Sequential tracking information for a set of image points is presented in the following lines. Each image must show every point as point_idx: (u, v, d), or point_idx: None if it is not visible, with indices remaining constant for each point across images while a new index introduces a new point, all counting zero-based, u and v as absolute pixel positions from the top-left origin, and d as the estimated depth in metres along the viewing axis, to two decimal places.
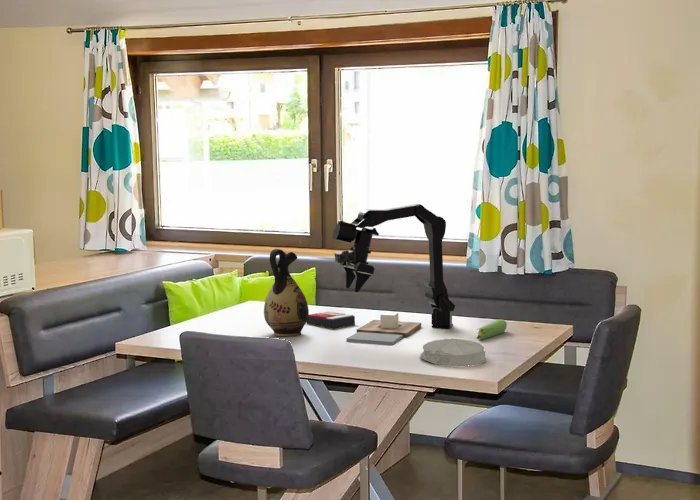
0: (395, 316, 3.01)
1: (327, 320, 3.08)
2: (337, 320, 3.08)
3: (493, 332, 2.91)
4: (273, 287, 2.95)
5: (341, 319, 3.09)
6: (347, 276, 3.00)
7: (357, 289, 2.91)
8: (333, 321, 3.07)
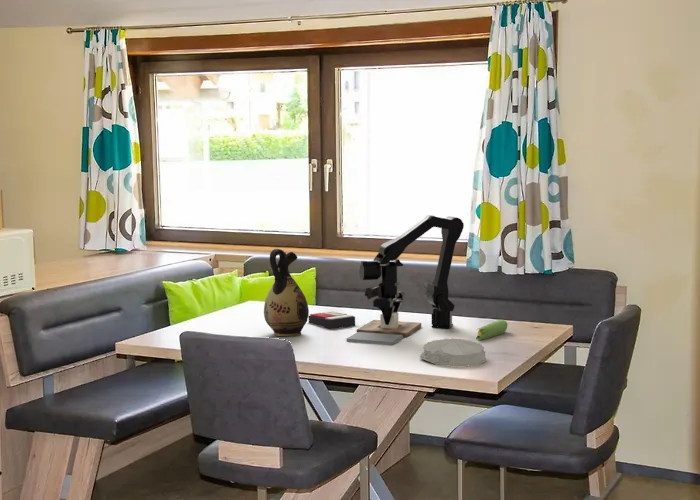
0: (395, 316, 3.01)
1: (326, 320, 3.09)
2: (335, 320, 3.08)
3: (493, 332, 2.91)
4: (273, 287, 2.95)
5: (340, 319, 3.09)
6: None
7: (386, 322, 3.00)
8: (331, 321, 3.07)
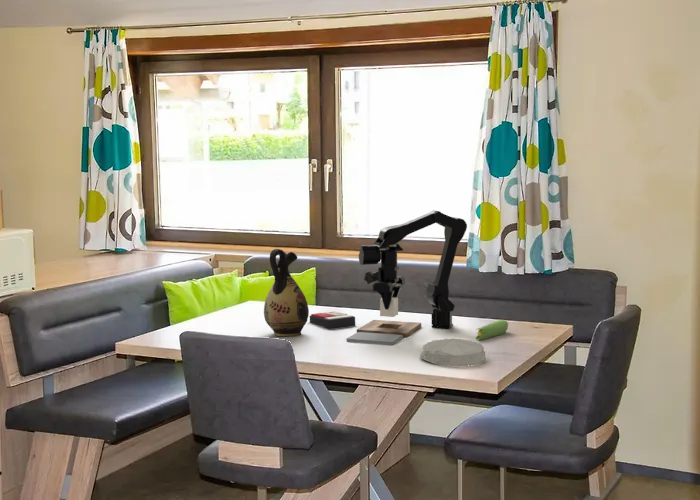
0: (395, 301, 3.01)
1: (325, 320, 3.09)
2: (335, 320, 3.08)
3: (493, 332, 2.91)
4: (273, 287, 2.95)
5: (339, 319, 3.09)
6: None
7: (386, 306, 3.00)
8: (330, 321, 3.07)
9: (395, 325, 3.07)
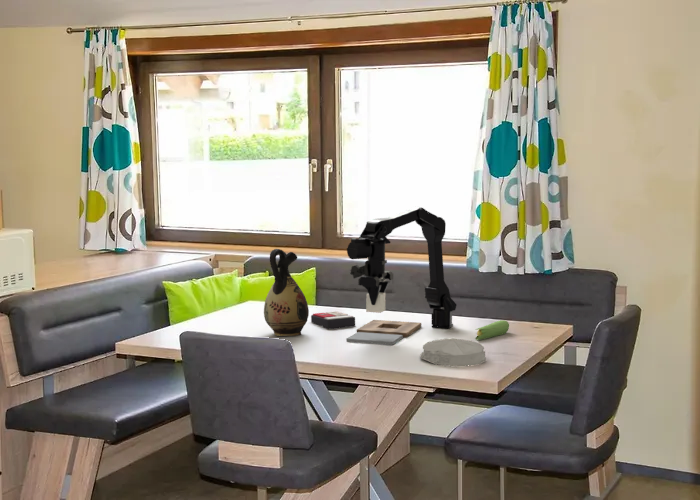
0: (382, 296, 2.88)
1: (324, 320, 3.09)
2: (334, 320, 3.07)
3: (493, 333, 2.90)
4: (273, 287, 2.95)
5: (339, 320, 3.08)
6: None
7: (373, 302, 2.87)
8: (329, 321, 3.07)
9: (395, 325, 3.07)
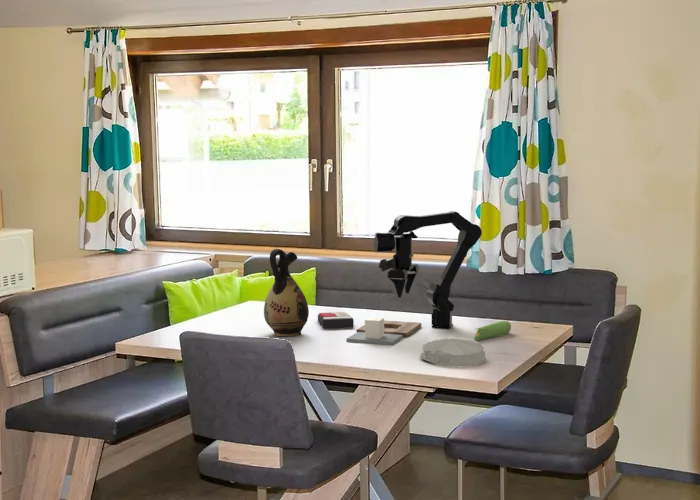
0: (380, 322, 2.87)
1: (322, 320, 3.09)
2: (330, 321, 3.07)
3: (492, 333, 2.90)
4: (273, 287, 2.95)
5: (335, 320, 3.07)
6: None
7: (399, 294, 3.00)
8: (324, 321, 3.07)
9: (395, 325, 3.07)
